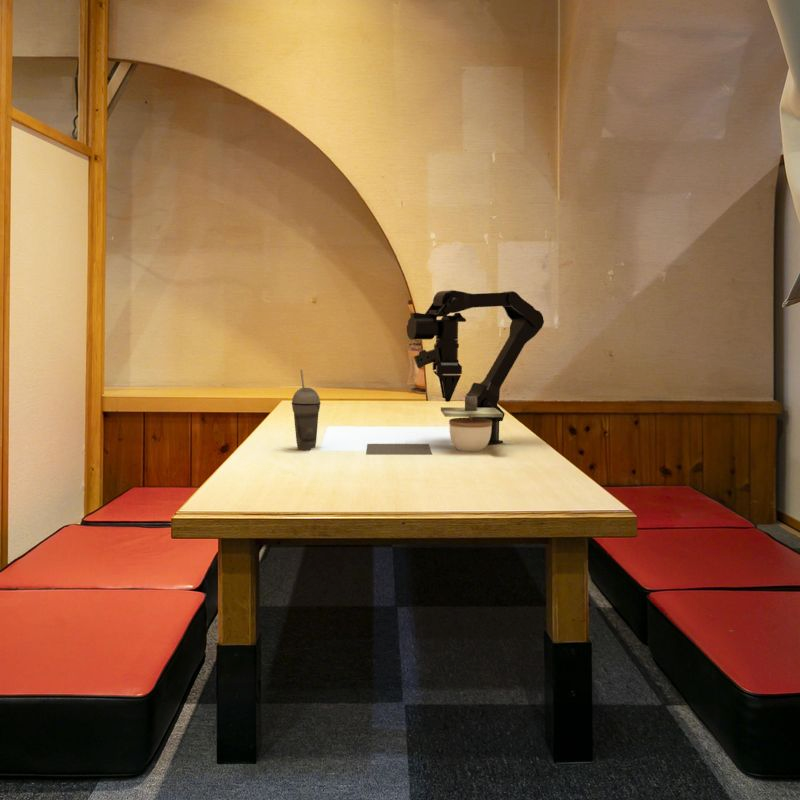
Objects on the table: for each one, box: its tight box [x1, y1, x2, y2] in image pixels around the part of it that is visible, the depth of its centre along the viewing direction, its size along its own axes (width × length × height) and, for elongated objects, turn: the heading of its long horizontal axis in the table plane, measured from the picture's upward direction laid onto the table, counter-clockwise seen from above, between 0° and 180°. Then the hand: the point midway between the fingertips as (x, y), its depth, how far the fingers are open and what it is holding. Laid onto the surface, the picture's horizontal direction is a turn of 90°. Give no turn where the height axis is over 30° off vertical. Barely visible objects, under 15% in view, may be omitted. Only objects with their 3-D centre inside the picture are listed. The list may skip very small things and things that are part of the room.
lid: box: [440, 395, 503, 418], centre depth 191 cm, size 14×14×4 cm
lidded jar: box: [448, 417, 492, 452], centre depth 191 cm, size 11×11×9 cm
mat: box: [365, 443, 433, 456], centre depth 191 cm, size 16×16×1 cm
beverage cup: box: [291, 369, 321, 451], centre depth 192 cm, size 7×7×20 cm
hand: (446, 399), depth 198 cm, fingers open, 9 cm apart
